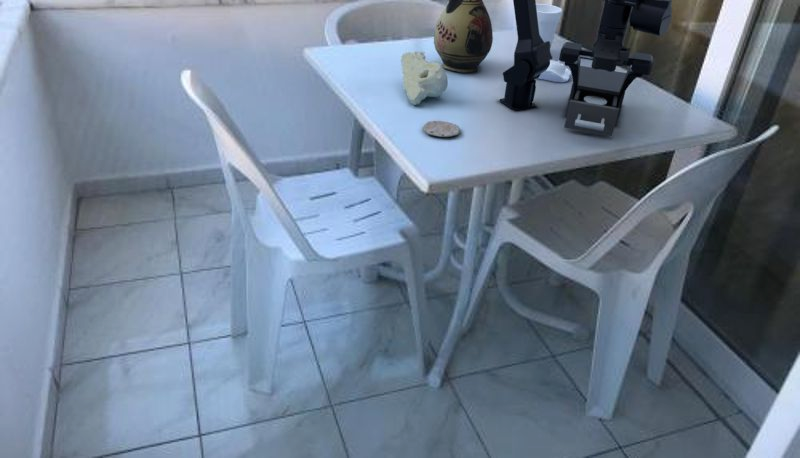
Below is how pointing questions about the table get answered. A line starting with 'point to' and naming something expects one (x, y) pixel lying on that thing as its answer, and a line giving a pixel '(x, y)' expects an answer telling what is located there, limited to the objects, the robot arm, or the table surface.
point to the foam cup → (548, 21)
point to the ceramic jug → (463, 35)
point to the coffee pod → (595, 100)
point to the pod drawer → (592, 113)
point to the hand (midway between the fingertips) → (596, 96)
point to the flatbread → (441, 128)
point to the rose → (556, 72)
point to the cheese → (422, 77)
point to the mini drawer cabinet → (600, 83)
